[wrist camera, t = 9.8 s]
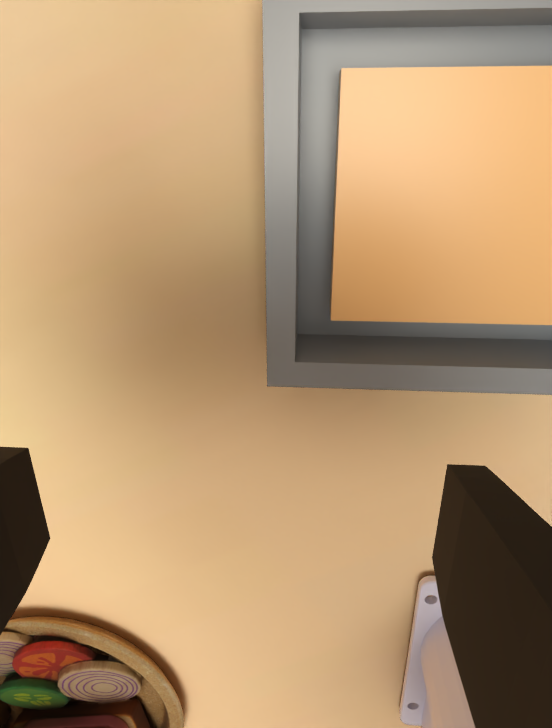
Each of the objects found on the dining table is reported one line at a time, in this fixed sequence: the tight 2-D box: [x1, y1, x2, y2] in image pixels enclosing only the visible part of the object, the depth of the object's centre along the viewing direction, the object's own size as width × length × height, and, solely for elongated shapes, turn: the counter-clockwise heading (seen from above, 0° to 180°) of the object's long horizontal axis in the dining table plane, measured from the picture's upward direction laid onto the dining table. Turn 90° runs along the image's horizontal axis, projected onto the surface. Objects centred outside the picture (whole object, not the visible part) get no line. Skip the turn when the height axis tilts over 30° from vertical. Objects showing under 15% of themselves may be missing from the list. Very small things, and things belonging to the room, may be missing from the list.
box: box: [262, 0, 552, 395], centre depth 14 cm, size 10×10×3 cm
